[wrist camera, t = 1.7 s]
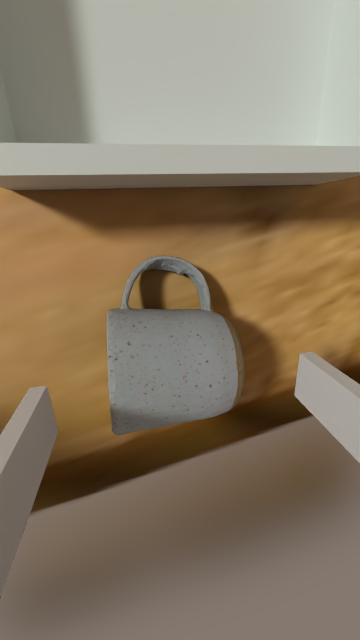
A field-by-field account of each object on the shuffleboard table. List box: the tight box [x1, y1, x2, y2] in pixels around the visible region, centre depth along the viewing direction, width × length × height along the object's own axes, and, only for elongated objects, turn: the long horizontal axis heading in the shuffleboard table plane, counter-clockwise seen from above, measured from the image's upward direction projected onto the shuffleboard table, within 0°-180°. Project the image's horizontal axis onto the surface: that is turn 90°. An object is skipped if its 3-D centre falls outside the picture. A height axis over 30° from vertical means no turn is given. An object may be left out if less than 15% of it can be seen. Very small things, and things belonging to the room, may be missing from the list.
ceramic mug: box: [107, 256, 245, 435], centre depth 17 cm, size 11×8×8 cm
